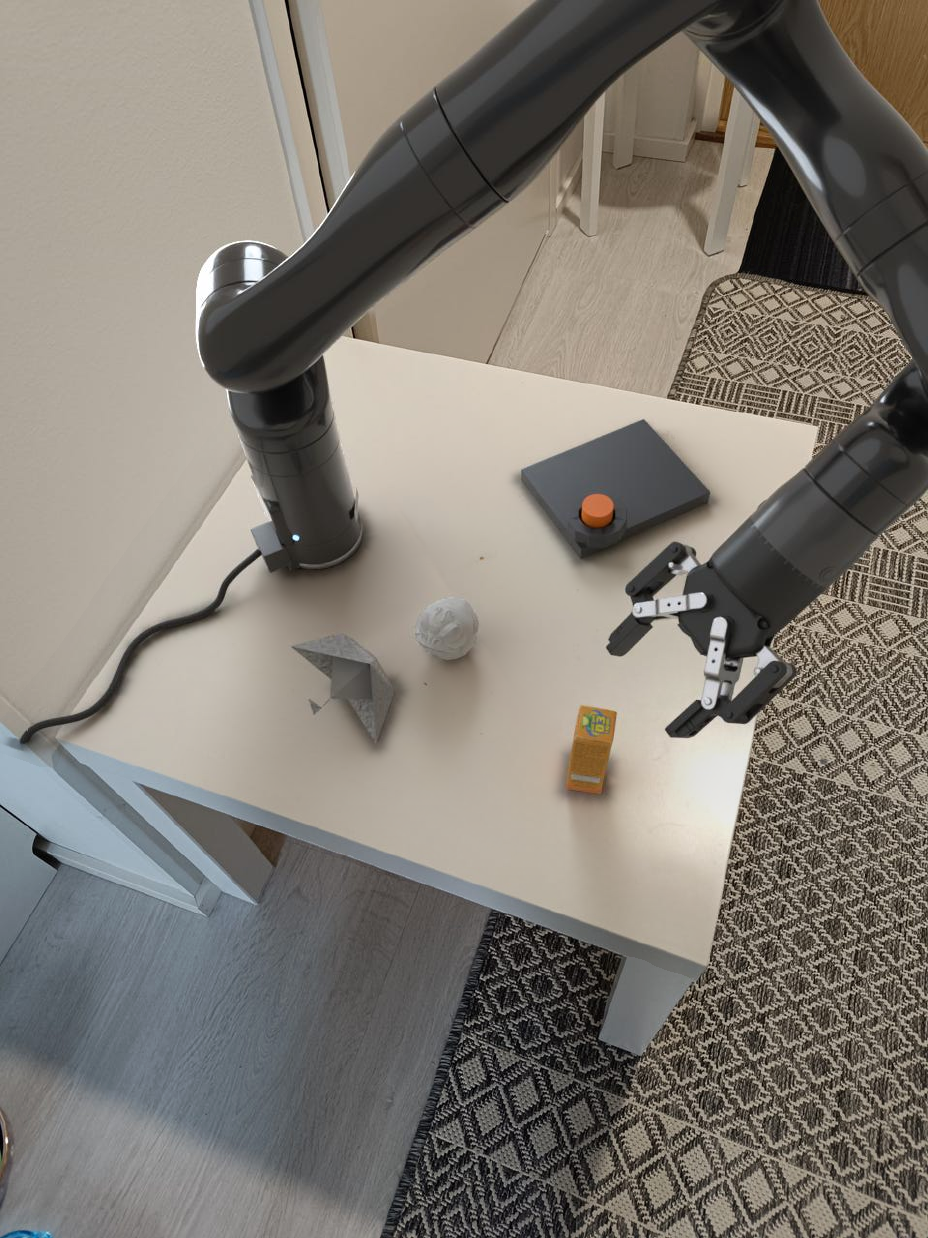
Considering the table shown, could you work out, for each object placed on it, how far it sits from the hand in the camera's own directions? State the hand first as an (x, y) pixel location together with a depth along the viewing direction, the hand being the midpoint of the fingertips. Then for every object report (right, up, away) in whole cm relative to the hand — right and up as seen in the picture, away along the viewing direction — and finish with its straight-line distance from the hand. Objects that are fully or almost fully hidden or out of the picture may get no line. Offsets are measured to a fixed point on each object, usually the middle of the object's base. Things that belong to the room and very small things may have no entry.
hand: (641, 692), depth 72 cm
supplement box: (-3, -8, +9) cm, 12 cm away
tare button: (0, +17, +21) cm, 27 cm away
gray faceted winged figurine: (-25, -2, +15) cm, 30 cm away
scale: (+2, +20, +27) cm, 34 cm away
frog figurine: (-16, +3, +17) cm, 23 cm away
